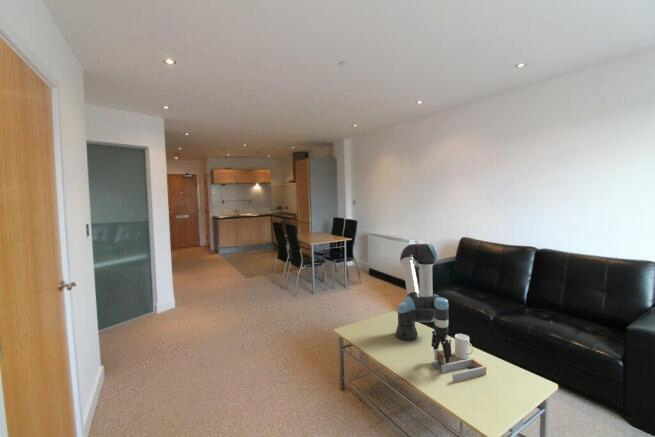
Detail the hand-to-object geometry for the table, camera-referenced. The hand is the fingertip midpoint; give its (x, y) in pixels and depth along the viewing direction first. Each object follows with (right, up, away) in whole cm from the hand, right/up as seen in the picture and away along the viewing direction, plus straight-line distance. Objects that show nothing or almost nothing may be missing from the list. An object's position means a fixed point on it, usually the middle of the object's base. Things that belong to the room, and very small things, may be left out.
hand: (441, 363), depth 183 cm
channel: (+9, -2, -8) cm, 12 cm away
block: (+1, -1, 0) cm, 2 cm away
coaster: (0, -1, 0) cm, 1 cm away
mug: (+17, 0, +9) cm, 19 cm away
